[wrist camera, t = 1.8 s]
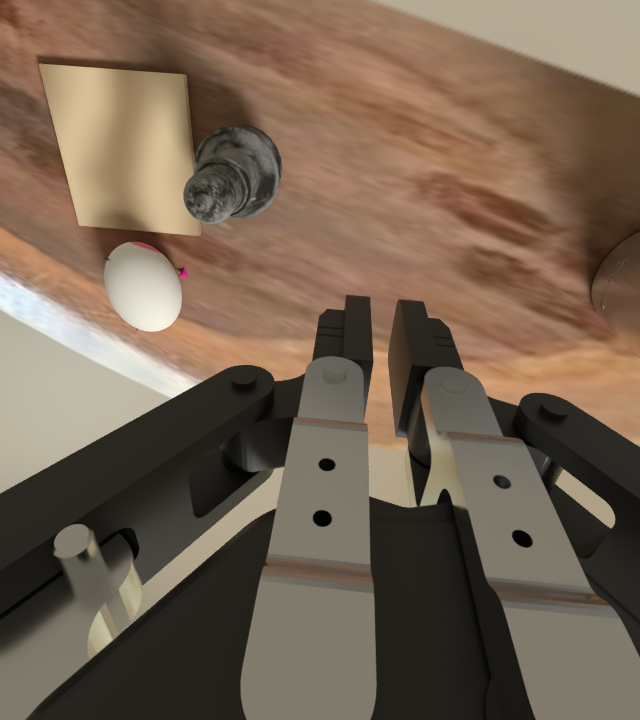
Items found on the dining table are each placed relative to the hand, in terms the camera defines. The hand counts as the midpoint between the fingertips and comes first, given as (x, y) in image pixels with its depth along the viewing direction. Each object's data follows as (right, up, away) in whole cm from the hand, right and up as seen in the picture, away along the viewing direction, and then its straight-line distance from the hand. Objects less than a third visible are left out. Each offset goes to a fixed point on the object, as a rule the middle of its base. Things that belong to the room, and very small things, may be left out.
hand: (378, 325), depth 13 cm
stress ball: (-17, +7, +25) cm, 31 cm away
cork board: (-16, +14, +20) cm, 29 cm away
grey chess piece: (-7, +14, +20) cm, 25 cm away
